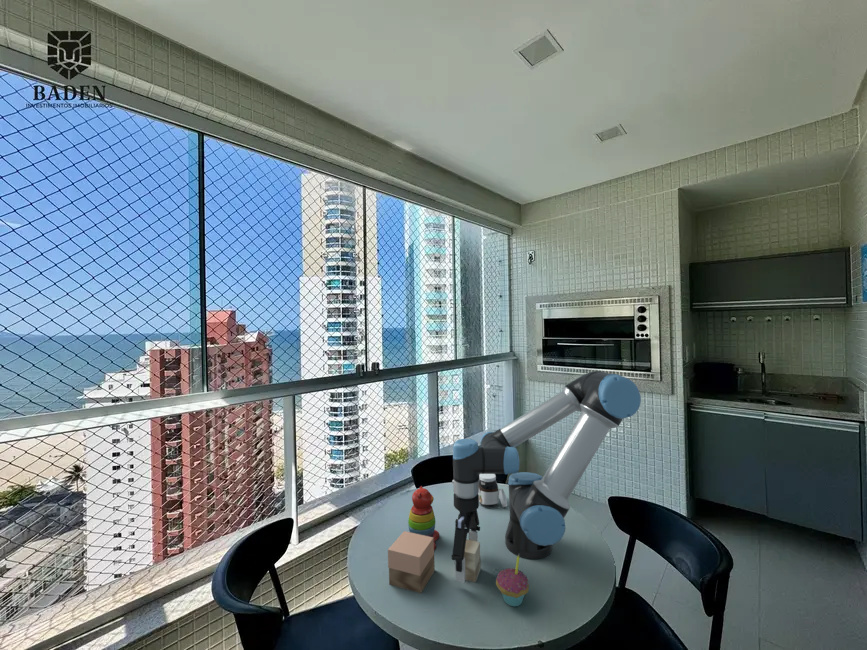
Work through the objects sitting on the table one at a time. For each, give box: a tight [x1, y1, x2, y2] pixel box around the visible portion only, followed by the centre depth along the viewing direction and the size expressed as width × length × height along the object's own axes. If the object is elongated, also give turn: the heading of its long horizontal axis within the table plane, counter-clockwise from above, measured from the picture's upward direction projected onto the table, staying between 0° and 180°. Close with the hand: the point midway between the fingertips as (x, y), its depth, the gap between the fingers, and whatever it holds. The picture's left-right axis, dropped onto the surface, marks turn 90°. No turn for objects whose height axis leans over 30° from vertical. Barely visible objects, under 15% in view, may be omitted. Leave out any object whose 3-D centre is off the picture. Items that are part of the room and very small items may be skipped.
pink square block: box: [387, 530, 435, 576], centre depth 101 cm, size 10×10×5 cm
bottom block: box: [388, 554, 436, 594], centre depth 101 cm, size 10×10×5 cm
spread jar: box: [478, 474, 508, 508], centre depth 144 cm, size 12×11×12 cm
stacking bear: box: [407, 485, 440, 551], centre depth 119 cm, size 11×10×18 cm
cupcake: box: [495, 555, 530, 607], centre depth 91 cm, size 9×8×12 cm
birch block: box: [464, 539, 482, 583], centre depth 102 cm, size 6×6×8 cm
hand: (467, 566), depth 102 cm, fingers open, 13 cm apart
